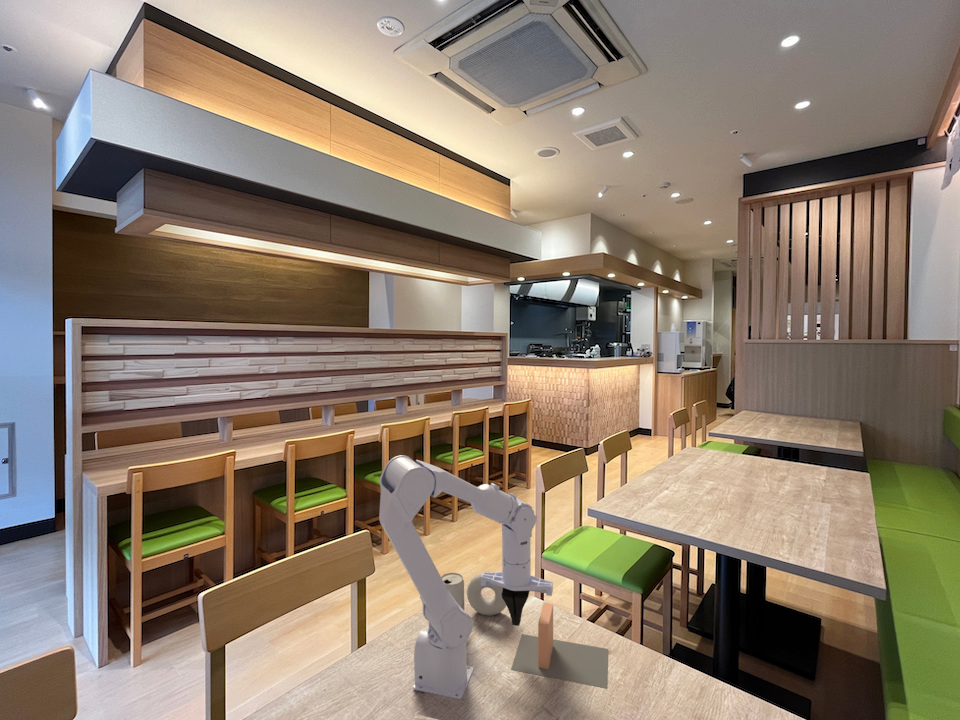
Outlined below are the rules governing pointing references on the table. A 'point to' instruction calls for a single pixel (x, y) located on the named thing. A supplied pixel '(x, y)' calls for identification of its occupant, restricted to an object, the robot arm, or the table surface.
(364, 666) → the table surface
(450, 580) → the energy drink
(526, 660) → the mat
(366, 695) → the table surface
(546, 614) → the tile
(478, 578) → the donut
